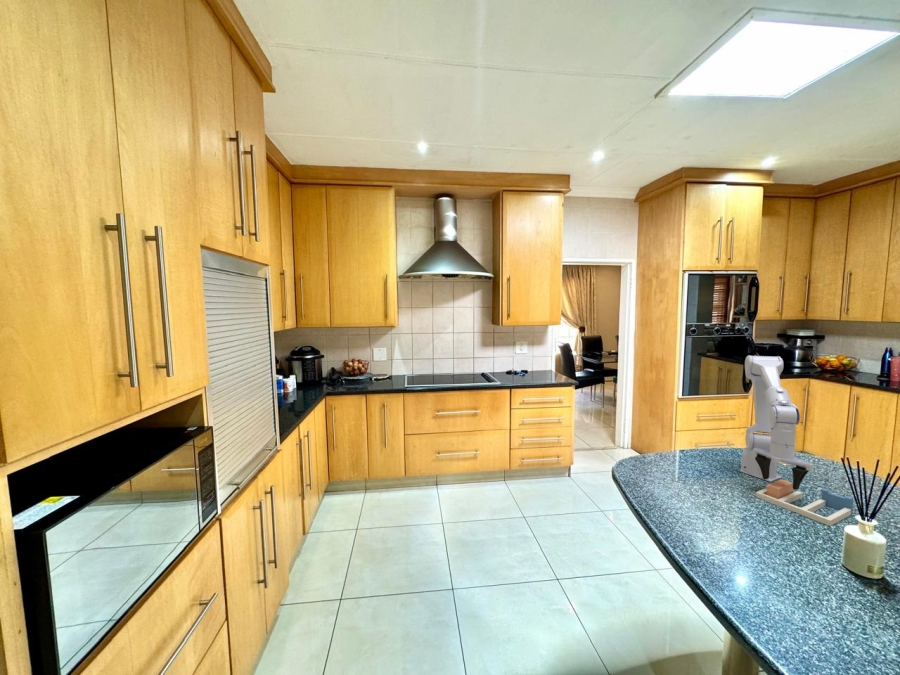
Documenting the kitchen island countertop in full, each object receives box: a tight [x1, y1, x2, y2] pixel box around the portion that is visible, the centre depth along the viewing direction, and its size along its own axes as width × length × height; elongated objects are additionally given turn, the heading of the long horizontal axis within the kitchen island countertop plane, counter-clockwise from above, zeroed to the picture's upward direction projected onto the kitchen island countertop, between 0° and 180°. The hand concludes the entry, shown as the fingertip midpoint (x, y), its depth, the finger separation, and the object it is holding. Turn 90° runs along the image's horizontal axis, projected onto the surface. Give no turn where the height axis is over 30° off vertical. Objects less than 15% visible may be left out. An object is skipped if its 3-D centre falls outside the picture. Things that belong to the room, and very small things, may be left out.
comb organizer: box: [755, 487, 852, 527], centre depth 109 cm, size 17×13×2 cm
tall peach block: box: [766, 478, 794, 499], centre depth 114 cm, size 3×9×4 cm, turn 114°
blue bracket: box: [820, 487, 854, 515], centre depth 106 cm, size 6×2×5 cm, turn 24°
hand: (780, 483), depth 113 cm, fingers open, 7 cm apart
